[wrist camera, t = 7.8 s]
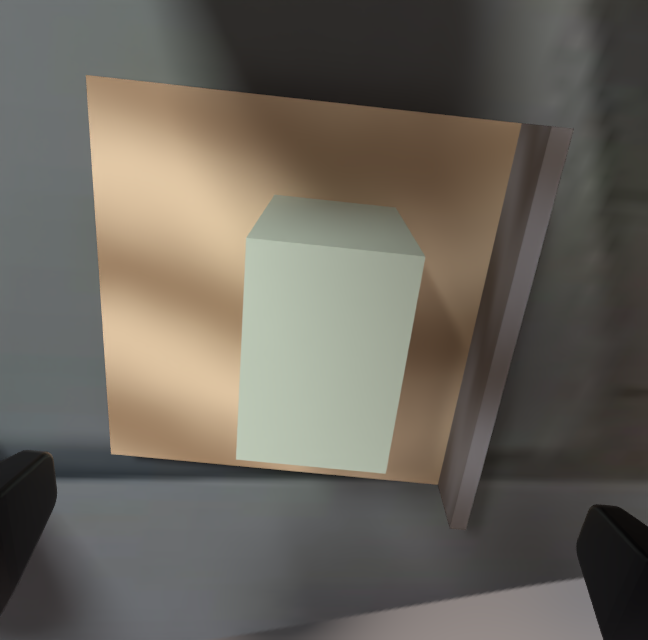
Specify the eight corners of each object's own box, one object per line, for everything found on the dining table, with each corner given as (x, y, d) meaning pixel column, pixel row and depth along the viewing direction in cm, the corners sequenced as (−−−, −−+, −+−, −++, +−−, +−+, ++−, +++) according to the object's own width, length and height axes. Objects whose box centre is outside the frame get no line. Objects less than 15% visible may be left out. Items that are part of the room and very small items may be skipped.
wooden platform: (102, 77, 17) (45, 70, 14) (530, 124, 17) (577, 129, 14) (122, 436, 22) (85, 494, 19) (448, 467, 23) (468, 530, 19)
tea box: (264, 357, 19) (236, 459, 14) (274, 194, 17) (246, 237, 11) (372, 368, 19) (388, 474, 14) (398, 208, 17) (428, 257, 12)
